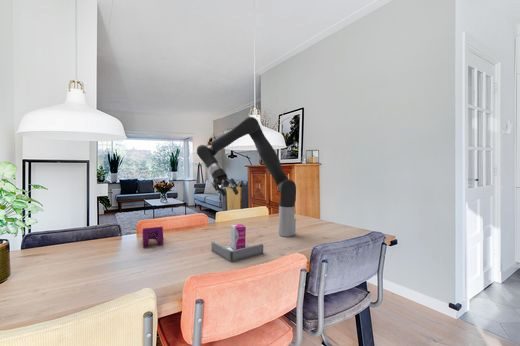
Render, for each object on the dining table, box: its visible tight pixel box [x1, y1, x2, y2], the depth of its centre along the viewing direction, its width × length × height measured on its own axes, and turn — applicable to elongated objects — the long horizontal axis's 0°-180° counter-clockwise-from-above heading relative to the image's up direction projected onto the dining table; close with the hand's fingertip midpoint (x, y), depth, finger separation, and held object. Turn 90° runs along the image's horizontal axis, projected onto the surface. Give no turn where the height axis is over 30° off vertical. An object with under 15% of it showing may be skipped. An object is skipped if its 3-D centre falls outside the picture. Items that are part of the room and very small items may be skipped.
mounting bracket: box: [141, 226, 164, 248], centre depth 141 cm, size 10×8×18 cm
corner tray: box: [210, 241, 264, 263], centre depth 126 cm, size 18×18×4 cm
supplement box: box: [230, 223, 247, 250], centre depth 128 cm, size 6×6×12 cm
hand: (231, 194), depth 140 cm, fingers open, 8 cm apart
